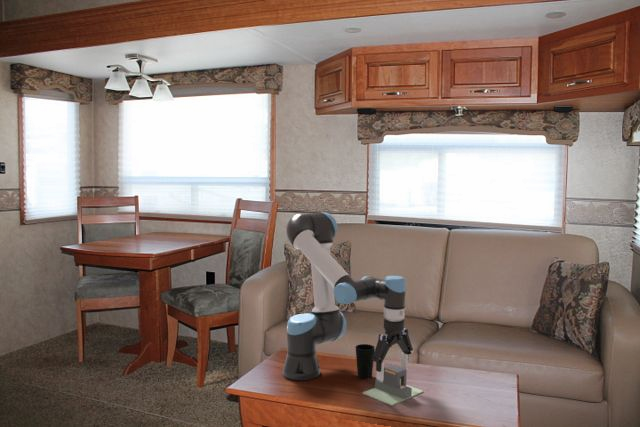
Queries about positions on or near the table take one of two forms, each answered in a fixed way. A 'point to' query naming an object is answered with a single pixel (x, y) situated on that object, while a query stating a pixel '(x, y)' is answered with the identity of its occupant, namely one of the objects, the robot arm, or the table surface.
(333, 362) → the table surface
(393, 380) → the plug block
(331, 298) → the robot arm
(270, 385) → the table surface
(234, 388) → the table surface
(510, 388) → the table surface
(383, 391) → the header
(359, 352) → the cup
